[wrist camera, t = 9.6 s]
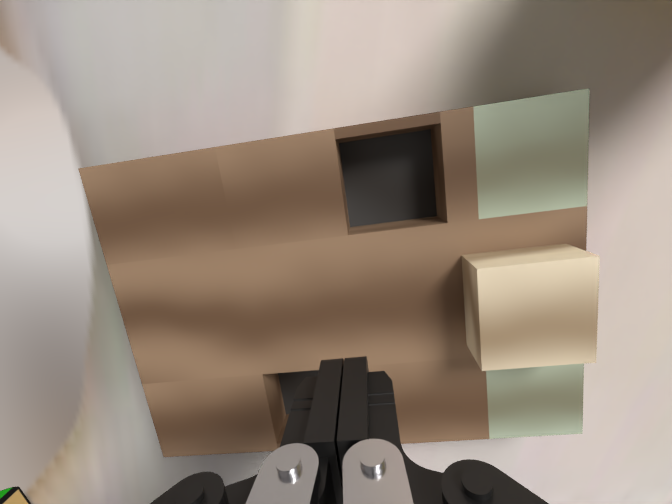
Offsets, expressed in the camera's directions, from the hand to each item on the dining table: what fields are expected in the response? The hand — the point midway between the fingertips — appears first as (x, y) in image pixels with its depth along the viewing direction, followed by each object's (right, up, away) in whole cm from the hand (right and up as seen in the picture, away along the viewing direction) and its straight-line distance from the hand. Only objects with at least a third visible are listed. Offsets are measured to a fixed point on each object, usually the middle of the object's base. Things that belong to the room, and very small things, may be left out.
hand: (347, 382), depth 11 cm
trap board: (0, +2, +10) cm, 10 cm away
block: (+9, +2, +7) cm, 11 cm away
